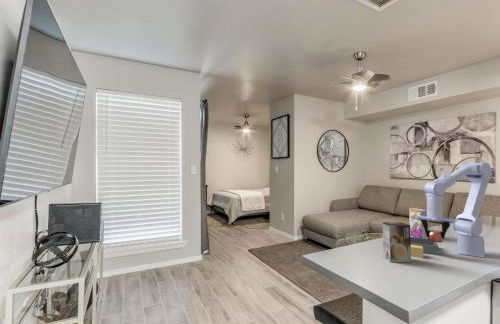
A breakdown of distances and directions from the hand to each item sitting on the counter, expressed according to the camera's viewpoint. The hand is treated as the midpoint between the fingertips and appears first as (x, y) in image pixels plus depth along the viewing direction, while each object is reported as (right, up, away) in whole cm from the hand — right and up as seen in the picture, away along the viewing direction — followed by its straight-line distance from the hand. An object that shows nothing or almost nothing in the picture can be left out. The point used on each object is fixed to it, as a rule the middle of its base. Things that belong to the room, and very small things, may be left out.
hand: (434, 237), depth 116 cm
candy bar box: (+14, -10, +31) cm, 35 cm away
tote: (-1, -9, +9) cm, 13 cm away
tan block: (-9, -8, -1) cm, 13 cm away
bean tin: (0, -2, 0) cm, 2 cm away
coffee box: (-22, -8, -6) cm, 24 cm away
